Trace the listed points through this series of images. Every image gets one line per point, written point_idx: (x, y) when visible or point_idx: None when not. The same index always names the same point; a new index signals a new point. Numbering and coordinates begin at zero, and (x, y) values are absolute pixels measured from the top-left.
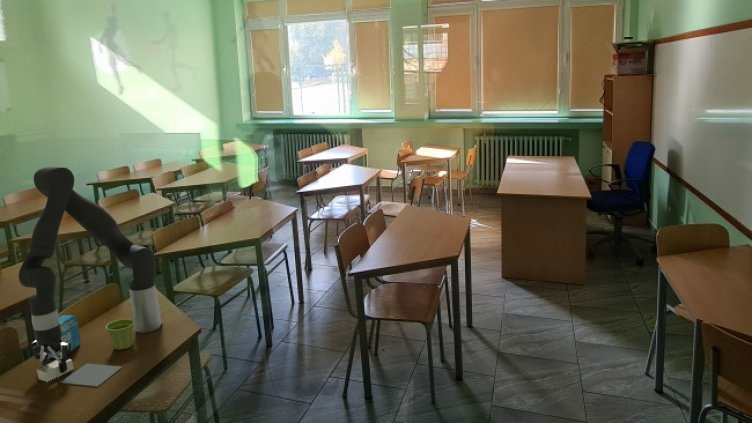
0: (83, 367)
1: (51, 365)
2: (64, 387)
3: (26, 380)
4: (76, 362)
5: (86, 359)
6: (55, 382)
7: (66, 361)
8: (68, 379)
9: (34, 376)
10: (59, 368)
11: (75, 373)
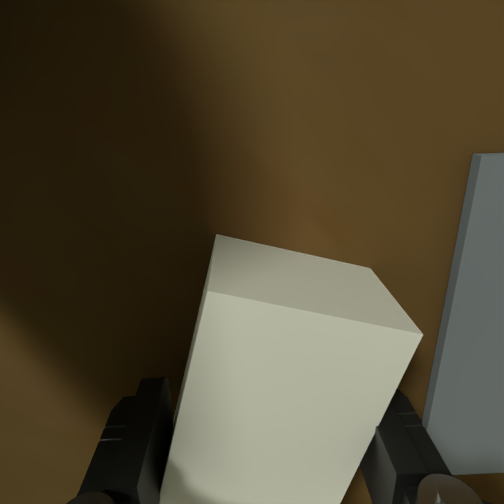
0: (492, 244)
1: (243, 483)
2: (482, 493)
3: None
4: (297, 129)
5: (383, 22)
6: None
7: (375, 384)
8: (463, 436)
9: (86, 437)
10: (364, 468)
11: (472, 355)
